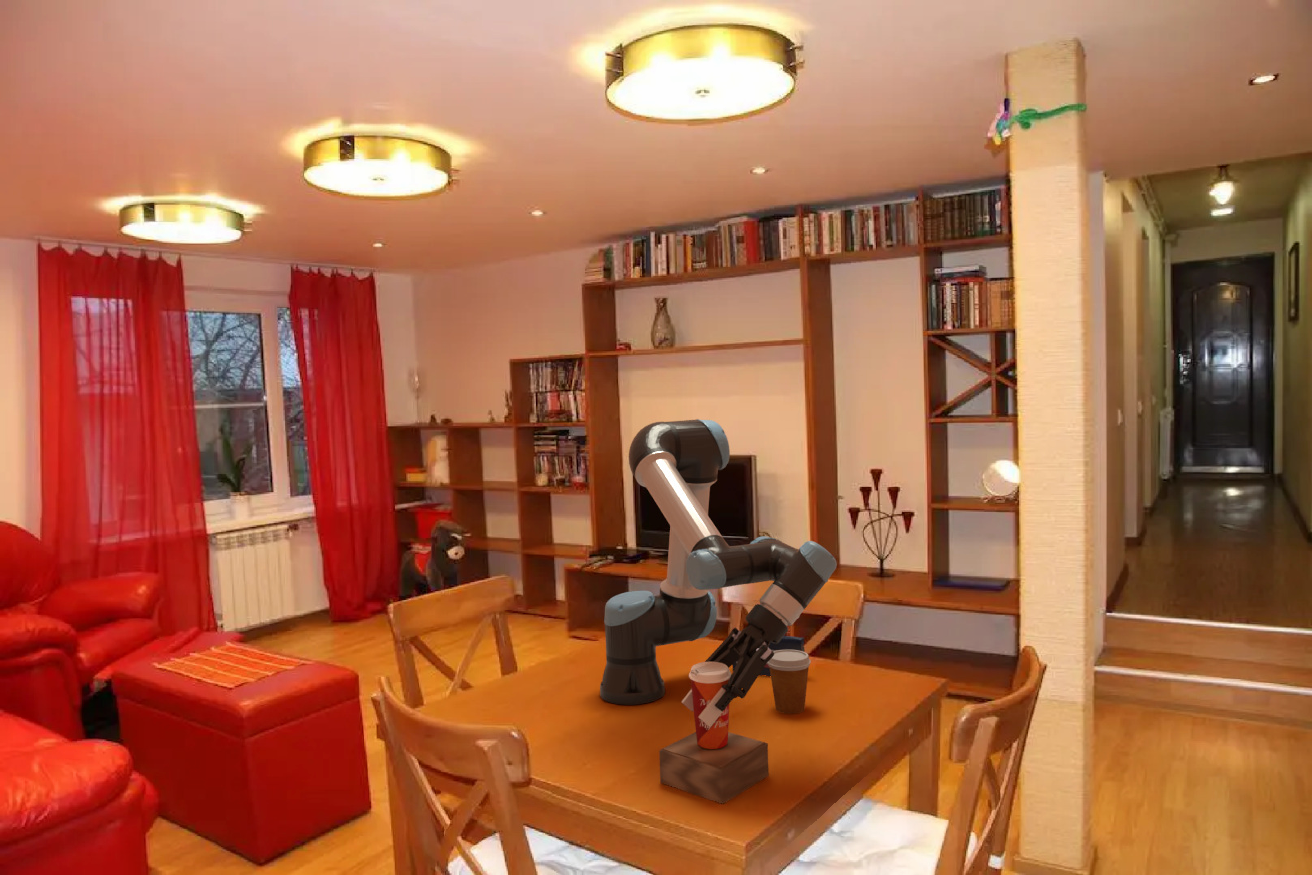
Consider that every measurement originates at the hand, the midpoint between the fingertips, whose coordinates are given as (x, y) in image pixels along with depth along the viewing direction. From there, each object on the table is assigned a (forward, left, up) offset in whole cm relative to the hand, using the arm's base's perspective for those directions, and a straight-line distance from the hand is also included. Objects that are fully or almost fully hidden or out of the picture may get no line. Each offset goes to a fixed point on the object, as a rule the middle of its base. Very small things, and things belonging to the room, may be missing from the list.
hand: (695, 714), depth 160 cm
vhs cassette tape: (-23, +58, -13) cm, 64 cm away
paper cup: (+1, +3, -6) cm, 7 cm away
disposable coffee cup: (-6, +41, -13) cm, 43 cm away
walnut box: (+2, +3, -12) cm, 13 cm away
